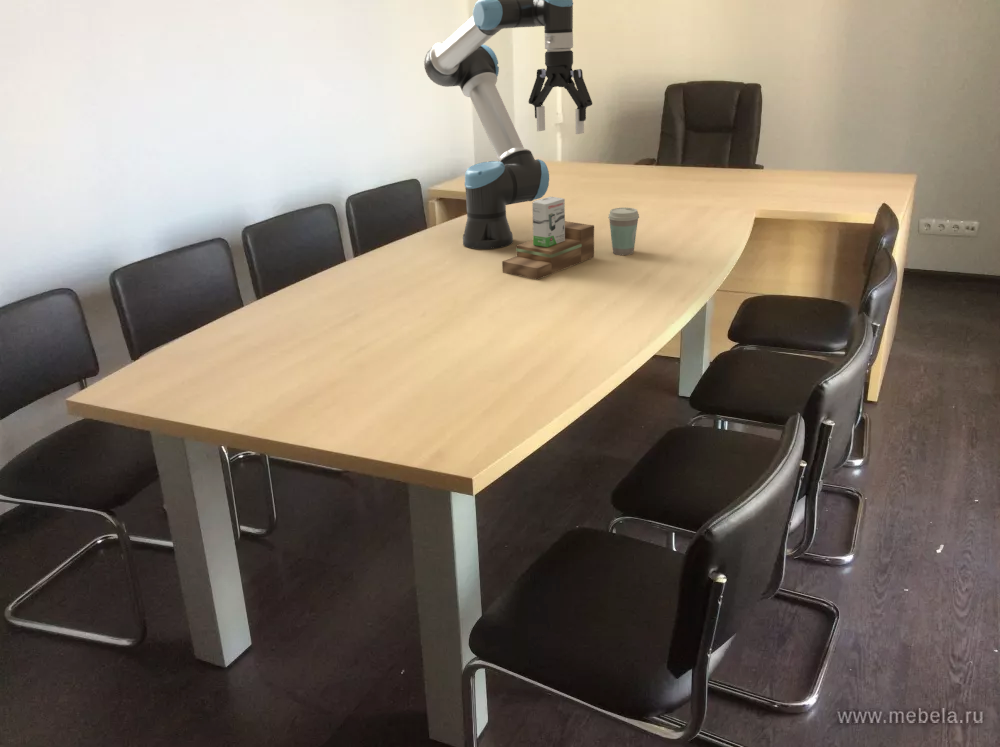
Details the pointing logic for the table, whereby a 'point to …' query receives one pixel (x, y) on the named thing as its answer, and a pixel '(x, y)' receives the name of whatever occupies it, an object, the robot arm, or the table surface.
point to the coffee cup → (623, 230)
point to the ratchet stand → (553, 253)
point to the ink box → (548, 221)
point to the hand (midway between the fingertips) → (560, 132)
